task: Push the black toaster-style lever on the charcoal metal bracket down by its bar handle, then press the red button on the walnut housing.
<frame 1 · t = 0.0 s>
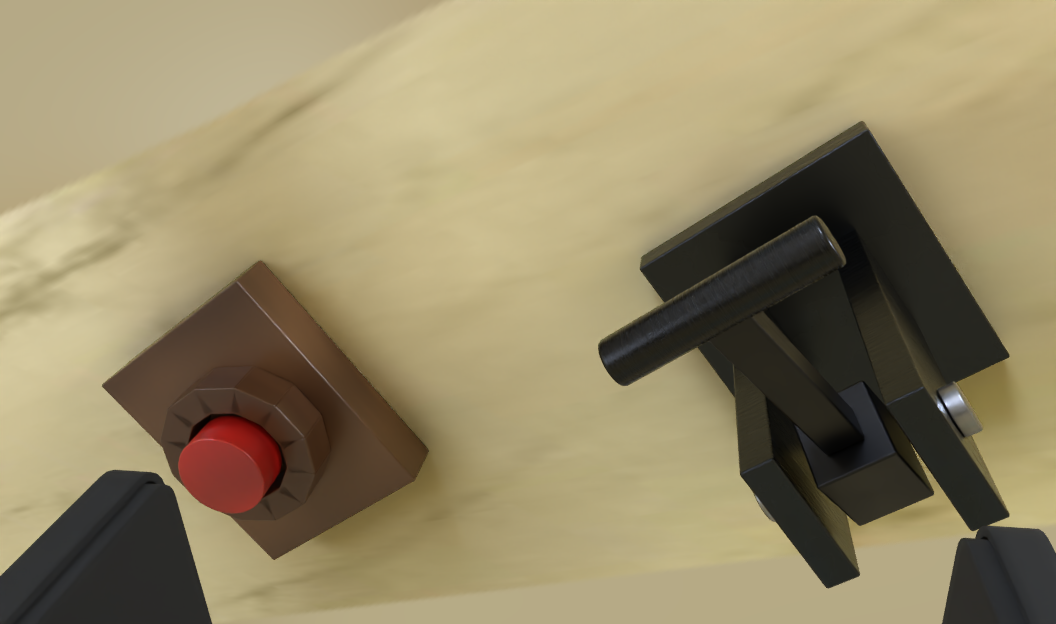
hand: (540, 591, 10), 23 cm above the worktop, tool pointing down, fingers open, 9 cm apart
bracket: (818, 298, 33), on the worktop
button: (230, 464, 35), point 4 cm above the worktop, slide at 0.1 cm
button box: (278, 405, 39), on the worktop
lever: (803, 395, 22), point 12 cm above the worktop, hinge at 25.0°
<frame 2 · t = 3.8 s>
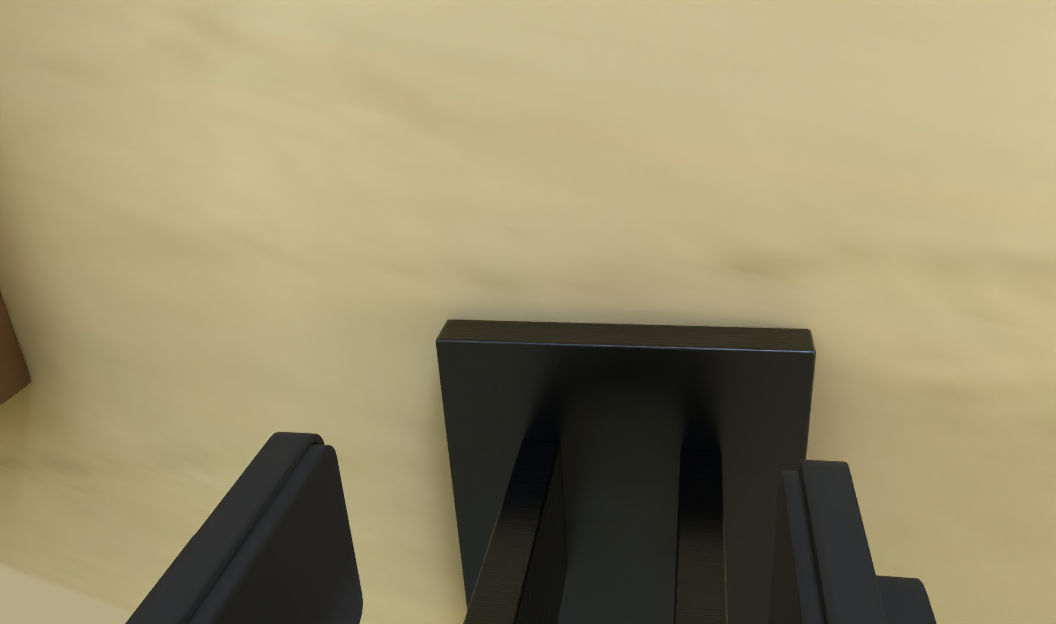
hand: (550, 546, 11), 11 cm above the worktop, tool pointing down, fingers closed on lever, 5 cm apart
bracket: (624, 486, 24), on the worktop
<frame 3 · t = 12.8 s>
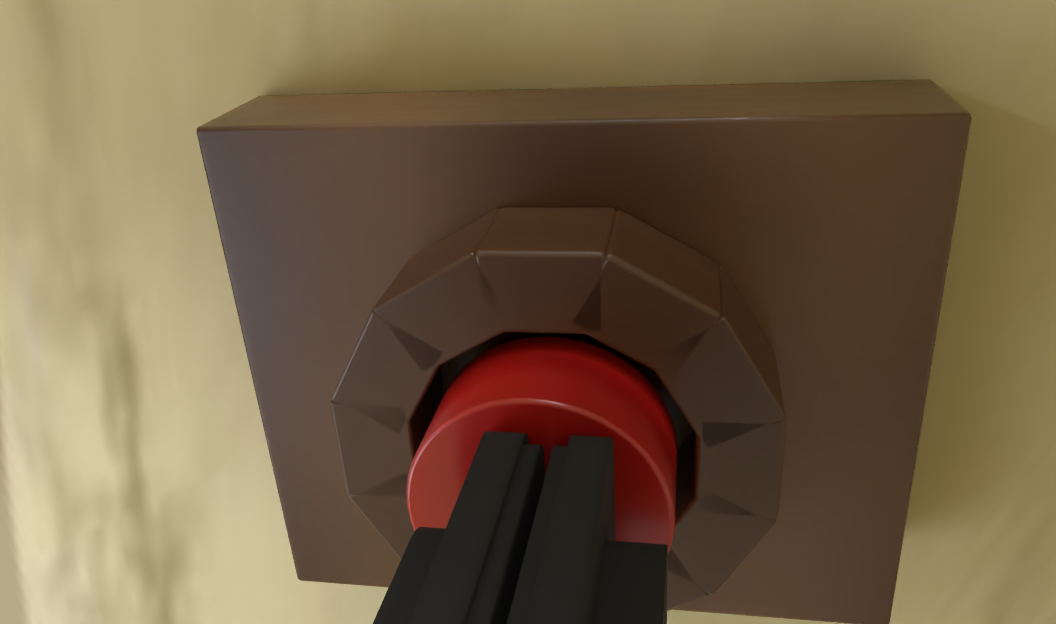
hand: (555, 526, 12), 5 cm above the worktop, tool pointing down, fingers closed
button: (546, 476, 12), point 4 cm above the worktop, slide at 0.0 cm, touching gripper
button box: (581, 333, 16), on the worktop
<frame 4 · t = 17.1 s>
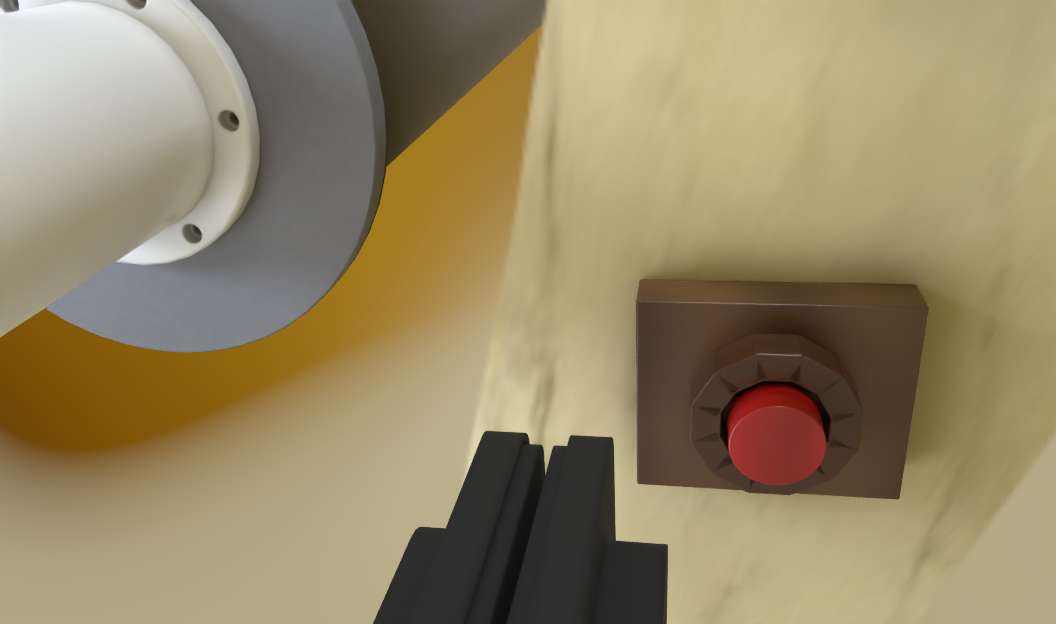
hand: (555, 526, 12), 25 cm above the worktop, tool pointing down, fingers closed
button: (775, 434, 34), point 4 cm above the worktop, slide at 0.1 cm
button box: (767, 376, 38), on the worktop
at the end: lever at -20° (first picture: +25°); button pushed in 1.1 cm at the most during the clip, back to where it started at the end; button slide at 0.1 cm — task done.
